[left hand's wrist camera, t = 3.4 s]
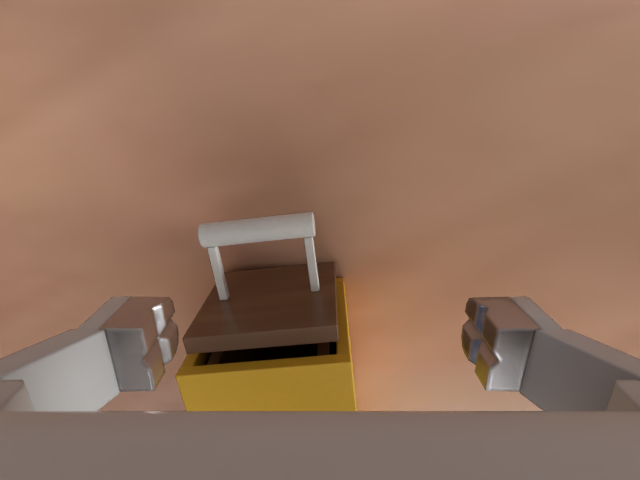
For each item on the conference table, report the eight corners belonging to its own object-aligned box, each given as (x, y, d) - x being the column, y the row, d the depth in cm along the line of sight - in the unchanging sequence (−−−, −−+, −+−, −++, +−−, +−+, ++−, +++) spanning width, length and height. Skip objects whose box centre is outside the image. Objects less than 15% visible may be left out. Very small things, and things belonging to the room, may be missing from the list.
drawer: (207, 206, 28) (155, 252, 20) (326, 193, 28) (326, 234, 19) (260, 432, 37) (240, 531, 28) (352, 425, 36) (360, 525, 28)
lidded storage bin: (223, 288, 32) (174, 376, 22) (343, 277, 31) (351, 362, 21) (261, 447, 39) (237, 570, 29) (360, 440, 38) (372, 564, 28)
